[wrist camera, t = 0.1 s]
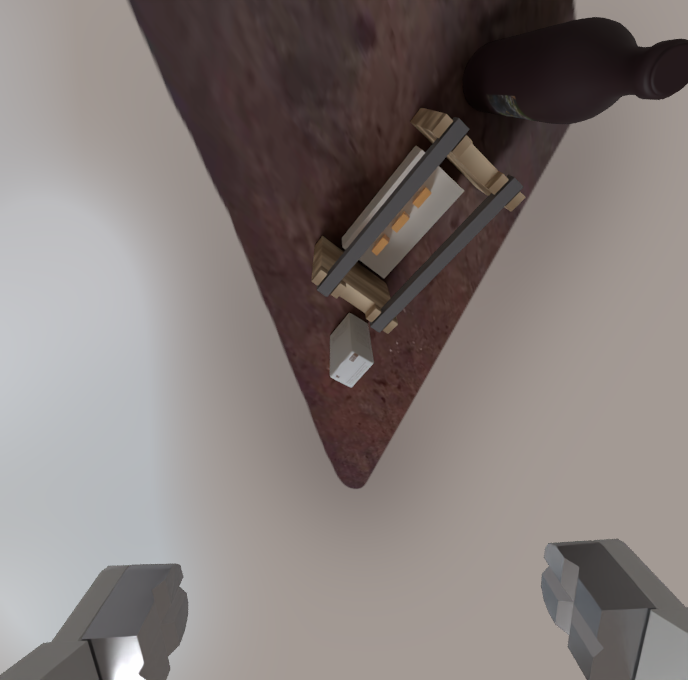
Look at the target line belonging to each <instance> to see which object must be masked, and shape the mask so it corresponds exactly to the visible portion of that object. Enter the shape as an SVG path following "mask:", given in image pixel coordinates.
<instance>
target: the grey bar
mask: <svg viewBox="0 0 688 680" xmlns="http://www.w3.org/2000/svg"><path fill="white" fill-rule="evenodd" d="M507 178H508V179H509V180H508V181H507V182H506V183H505V184H504V185H503V187H502V188H501V189H500V190H499V191H498V192H497V193H496V194H495V195H494V194H492V193H491V194H490V195H489V196H488V197H487V198H486V199H485V200H484V201H483V202H482V203H481V204H480V205H479V206H478V207H477V208H476V209H475V211H474V212H473V213H472V214H471V215H470V216H469V217H468V218H467V219H466V220H465V221H464V222H463V223H462V224H461V225H460V226H459V227H458V228H457V229H456V230H455V231H454V233H453V234H452V235H451V236H450V237H449V238H448V239H447V240H446V241H445V242H444V243H443V244H442V245H441V246H440V247H439V248H438V249H437V250H436V251H435V252H434V254H433V255H432V256H431V257H430V258H429V259H428V260H427V261H426V262H425V263H424V264H423V265H422V266H421V267H420V268H419V269H418V270H417V271H416V272H415V273H414V274H413V276H412V277H411V278H410V279H409V280H408V281H407V282H406V283H405V284H404V285H403V286H402V287H401V288H400V289H399V290H398V291H397V292H396V293H395V294H394V295H393V296H392V298H391V299H390V300H389V301H388V302H387V303H386V304H385V305H384V306H383V307H382V308H381V314H380V315H379V316H378V317H377V318H376V319H375V320H374V321H373V322H370V326H371V327H372V328H373V329H375V330H376V331H378V332H379V333H380V332H381V331H382V330H383V329H384V328H385V327H386V326H387V324H388V323H389V322H390V321H391V320H392V319H393V318H394V317H395V316H396V315H397V314H398V313H399V312H400V311H401V310H402V309H403V308H404V307H405V306H406V305H407V304H408V303H409V302H410V301H411V300H412V299H413V298H414V297H415V296H416V295H417V294H418V293H419V292H420V291H421V290H422V289H423V288H424V287H425V286H426V285H427V284H428V283H429V282H430V281H431V280H432V279H433V278H434V277H435V276H436V275H437V274H438V273H439V272H440V271H441V270H442V269H443V268H444V267H445V266H446V265H447V264H448V263H449V262H450V261H451V260H452V259H453V258H454V257H455V256H456V255H457V254H458V253H459V252H460V251H461V250H462V249H463V248H464V247H465V246H466V245H467V244H468V243H469V242H470V241H471V240H472V239H473V238H474V237H475V236H476V235H477V234H478V233H479V232H480V231H481V230H482V229H483V228H484V227H485V225H486V224H487V223H488V222H489V221H490V220H491V219H492V218H493V217H494V216H495V215H496V214H497V213H498V212H499V211H500V210H501V209H502V208H503V207H504V206H505V205H506V204H507V203H508V202H509V201H510V200H511V199H512V198H513V197H514V196H515V195H516V194H517V193H518V192H519V191H520V190H521V189H522V188H523V186H522V185H521V184H520V183H519V182H518V181H517V180H516V179H515V178H514V177H512V176H510V175H508V176H507Z"/></svg>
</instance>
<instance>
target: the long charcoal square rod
mask: <svg viewBox="0 0 688 680" xmlns="http://www.w3.org/2000/svg"><path fill="white" fill-rule="evenodd" d="M452 120H453V122H452V123H451V124H450V126H449V127H448V128H447V129H446V131H445V132H444V133H443V134H442V135H441V137H440V138H437V139H436V140H435V141H434V143H433V144H432V145H431V146H430V148H429V149H428V150H427V151H426V152H425V154H424V155H423V156H422V157H421V159H420V160H419V161H418V162H417V163H416V165H415V166H414V167H413V168H412V169H411V171H410V172H409V173H408V174H407V176H406V177H405V178H404V179H403V180H402V182H401V183H400V184H399V185H398V187H397V188H396V189H395V190H394V191H393V193H392V194H391V195H390V196H389V198H388V199H387V200H386V201H385V202H384V204H383V205H382V206H381V207H380V209H379V210H378V211H377V212H376V213H375V215H374V216H373V217H372V218H371V220H370V221H369V222H368V223H367V224H366V226H365V227H364V228H363V229H362V231H361V232H360V233H359V234H358V235H357V237H356V238H355V239H354V240H353V242H352V243H351V244H350V245H349V246H348V248H347V249H346V250H345V251H344V253H343V254H342V255H341V256H340V257H339V259H338V260H337V261H336V262H335V264H334V265H333V266H332V267H331V268H330V270H329V271H328V273H327V275H326V277H325V278H324V279H323V280H322V282H321V283H320V284H319V285H318V286H317V291H319V292H320V293H322V294H323V295H325V296H326V297H327V296H328V295H329V294H330V293H331V292H332V291H333V289H334V288H335V287H336V286H337V285H338V284H339V282H340V281H341V280H342V279H343V278H344V276H345V275H346V274H347V273H348V272H349V271H350V269H351V268H352V267H353V266H354V265H355V264H356V262H357V261H358V260H359V259H360V258H361V256H362V255H363V254H364V253H365V252H366V251H367V249H368V248H369V247H370V246H371V245H372V244H373V242H374V241H375V240H376V239H377V238H378V236H379V235H380V234H381V233H382V232H383V231H384V229H385V228H386V227H387V226H388V225H389V224H390V222H391V221H392V220H393V219H394V218H395V216H396V215H397V214H398V213H399V212H400V211H401V209H402V208H403V207H404V206H405V205H406V204H407V202H408V201H409V200H410V199H411V198H412V196H413V195H414V194H415V193H416V192H417V191H418V189H419V188H420V187H421V186H422V185H423V184H424V182H425V181H426V180H427V179H428V178H429V176H430V175H431V174H432V173H433V172H434V171H435V169H436V168H437V167H438V166H439V165H440V164H441V162H442V161H443V160H444V159H445V158H446V156H447V155H448V154H449V153H450V152H451V151H452V149H453V148H454V147H455V146H456V145H457V144H458V142H459V141H460V140H461V139H462V138H463V136H464V135H465V134H466V133H467V132H468V131H469V128H468V127H467V126H466V125H465V124H464V123H463V122H462V121H461V120H460V119H459V118H457V117H454V118H453V119H452Z"/></svg>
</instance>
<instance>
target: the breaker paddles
mask: <svg viewBox="0 0 688 680" xmlns="http://www.w3.org/2000/svg"><path fill="white" fill-rule="evenodd" d="M431 193H432V192H431V191H430V190H429V189H428V188H427V187H426V186H425V187H424V189H423V190H422V191H421V192H420V193H419V194H418V196H417V197H416V198H415V199H414V200H413V204H414V205H415V206H416V207H417V208H419V207H420V206H421V205H422V204H423V203H424V201H425V200H426V199H427V198H428V197H429V196H430V195H431ZM409 219H410V216H409V215H408V214H407V213H406V212H405V211H404V212H403V213H402V214H401V216H400V217H399V218H398V219H397V220H396V221H395V223H394V224H393V225H392V227H391V228H392V229H393V230H394V231H395V232H396V233H397V232H398V231H399V230H400V229H401V228H402V227H403V226H404V224H405V223H406V222H407V221H408V220H409ZM389 240H390V238H389V237H388V236H387V235H386V234H384V235H383V237H382V238H381V239H380V240H379V241H378V242H377V244H376V245H375V246H374V247H373V249H372V252H373V253H374V254H375V255H376V256H377V255H378V254H379V253H380V252H381V251H382V250H383V248H384V247H385V246H386V245H387V244H388V243H389Z"/></svg>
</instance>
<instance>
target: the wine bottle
mask: <svg viewBox="0 0 688 680" xmlns="http://www.w3.org/2000/svg"><path fill="white" fill-rule="evenodd" d="M687 83H688V40H686V39H674V40H667V41H662V42H659V43H657V44H655V45H653V46H652V47H638V46H637V44H636V41H635V39H634V37H633V36H632V34H631V33H630V32H629V31H628V30H627V29H626V28H625V27H624V26H623V25H622V24H620V23H618V22H616V21H613V20H610V19H606V18H599V17H592V18H585V19H578V20H573V21H569V22H566V23H562V24H558V25H554V26H550V27H547V28H543V29H539V30H535V31H532V32H528V33H524V34H520V35H516V36H513V37H509V38H505V39H501V40H497V41H494V42H490V43H488V44H486V45H484V46H483V47H481V48H480V49H479V50H478V51H477V52H476V53H475V54H474V55H473V56H472V58H471V59H470V60H469V62H468V64H467V66H466V69H465V72H464V76H463V92H464V95H465V98H466V100H467V101H468V103H469V104H470V105H471V106H472V107H473V108H475V109H476V110H479V111H482V112H488V113H493V114H499V115H505V116H511V117H516V118H522V119H528V120H533V121H539V122H545V123H552V124H572V123H577V122H581V121H584V120H587V119H590V118H593V117H595V116H596V115H598V114H600V113H601V112H603V111H604V110H606V109H608V108H609V107H610V106H612V105H613V104H614V103H615V102H616V101H617V100H618V99H619V98H620V97H622V96H625V95H636V96H637V97H639V98H641V99H654V100H660V99H664V98H667V97H669V96H671V95H673V94H674V93H676V92H678V91H679V90H681V89H682V88H683V87H684V86H685V85H686V84H687Z"/></svg>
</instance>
